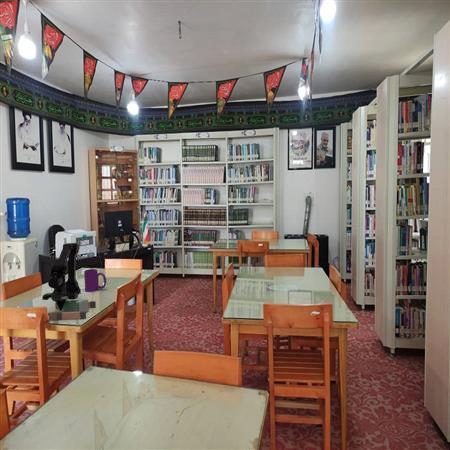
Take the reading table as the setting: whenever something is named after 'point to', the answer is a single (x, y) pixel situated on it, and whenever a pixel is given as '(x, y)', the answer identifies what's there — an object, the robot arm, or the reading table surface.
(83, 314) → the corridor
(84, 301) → the box
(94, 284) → the mug
